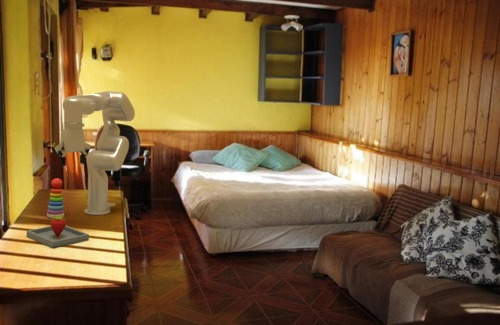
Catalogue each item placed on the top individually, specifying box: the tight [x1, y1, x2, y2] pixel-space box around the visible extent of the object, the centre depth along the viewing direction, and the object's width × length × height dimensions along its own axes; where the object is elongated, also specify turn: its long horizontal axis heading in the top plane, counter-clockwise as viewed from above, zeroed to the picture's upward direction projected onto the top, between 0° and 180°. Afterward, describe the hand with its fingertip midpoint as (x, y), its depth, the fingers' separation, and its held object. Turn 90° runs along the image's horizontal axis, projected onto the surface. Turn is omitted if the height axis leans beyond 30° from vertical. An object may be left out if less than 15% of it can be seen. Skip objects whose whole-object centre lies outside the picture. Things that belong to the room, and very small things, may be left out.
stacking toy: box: [46, 177, 65, 219], centre depth 228 cm, size 8×8×19 cm
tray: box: [26, 225, 90, 249], centre depth 198 cm, size 16×20×2 cm
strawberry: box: [50, 215, 67, 236], centre depth 198 cm, size 6×8×10 cm
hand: (73, 164), depth 214 cm, fingers open, 9 cm apart
